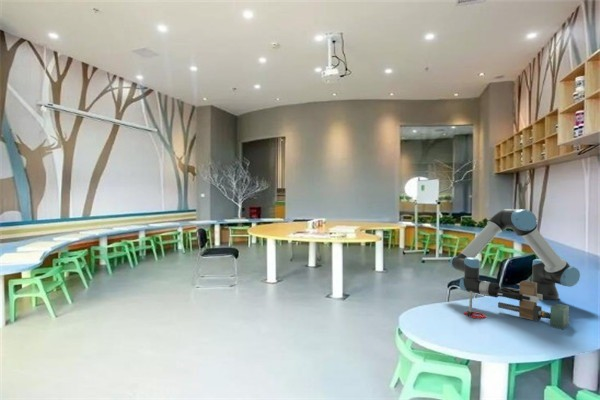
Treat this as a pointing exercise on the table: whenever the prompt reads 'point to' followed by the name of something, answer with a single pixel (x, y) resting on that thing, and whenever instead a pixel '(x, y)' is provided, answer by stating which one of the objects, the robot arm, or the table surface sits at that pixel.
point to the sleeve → (524, 305)
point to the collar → (536, 312)
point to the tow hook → (470, 313)
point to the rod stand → (547, 314)
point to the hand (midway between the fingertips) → (540, 298)
